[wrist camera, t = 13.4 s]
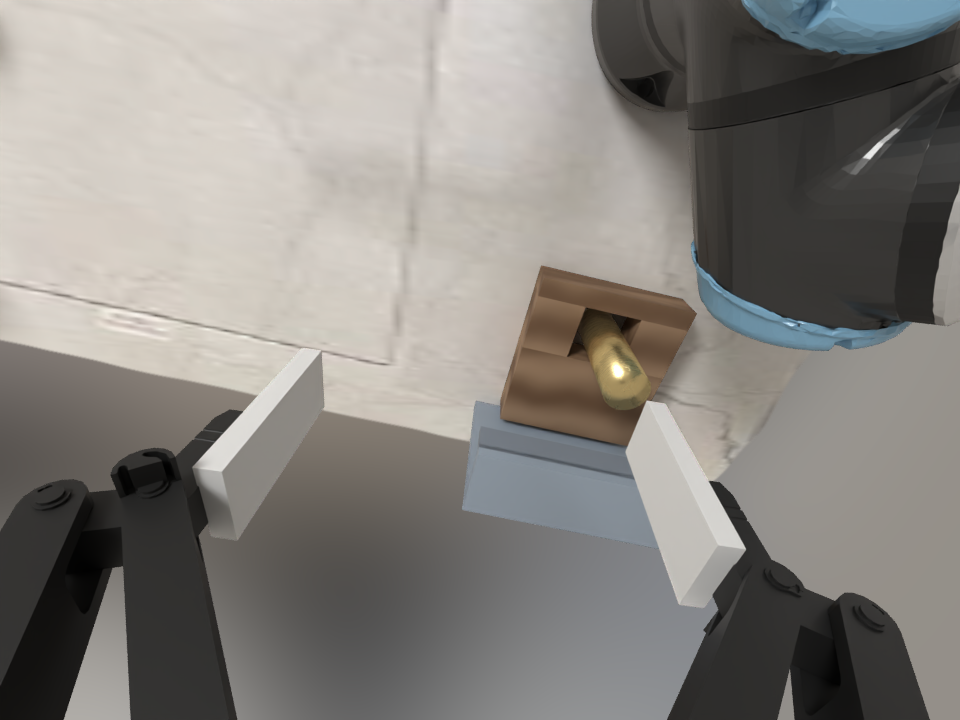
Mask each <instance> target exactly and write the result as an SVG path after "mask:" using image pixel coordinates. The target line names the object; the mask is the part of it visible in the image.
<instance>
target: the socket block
mask: <svg viewBox="0 0 960 720" xmlns="http://www.w3.org/2000/svg"><path fill="white" fill-rule="evenodd" d="M586 307H587V308H591V309H596V310H600V311H604V312H608V313H613V314H617V315H621V316H626V317H627V318H626V320H625V322H624V325H623V327H622V329H621V332H622V334H623V336H624V338H625V339H626V341H627V343H628V344H629V346H630V348H631V350H632V351H633V353H634V355H635V357H636V358H637V360H638V362H639V363H640V365H641V367H642V369H643V370H644V372H645V374H646V376H647V377H648V379H649V381H650V383H651V392H650V395H649V397H648V398H647V400H646V401H651V400H652V399H653V397H654V395H655V393H656V391H657V389H658V387H659V385H660V383H661V381H662V379H663V378H664V376H665V374H666V372H667V370H668V368H669V366H670V364H671V362H672V360H673V358H674V357H675V355H676V353H677V351H678V349H679V347H680V345H681V343H682V341H683V339H684V337H685V336H686V334H687V332H688V330H689V328H690V326H691V324H692V322H693V320H694V318H695V316H696V315H697V313H696V312H695V311H694V310H693V309H692V308H691V307H690V306H689V305H688V304H687V303H686V302H685V301H684V300H683V299H680V298H675V297H671V296H667V295H663V294H659V293H654V292H650V291H646V290H642V289H638V288H633V287H629V286H625V285H621V284H617V283H612V282H608V281H604V280H600V279H596V278H591V277H587V276H583V275H579V274H575V273H570V272H566V271H562V270H558V269H554V268H549V267H545V266H541V268H540V271H539V274H538V278H537V281H536V284H535V287H534V291H533V294H532V297H531V301H530V304H529V307H528V311H527V314H526V317H525V321H524V324H523V327H522V330H521V334H520V337H519V340H518V344H517V347H516V350H515V354H514V357H513V360H512V364H511V367H510V370H509V373H508V377H507V380H506V383H505V387H504V390H503V393H502V397H501V401H500V419H503V420H508V421H512V422H517V423H522V424H526V425H531V426H536V427H540V428H545V429H550V430H554V431H559V432H564V433H568V434H573V435H578V436H582V437H587V438H592V439H596V440H601V441H606V442H610V443H615V444H620V445H624V446H628V444H629V442H630V440H631V437H632V435H633V432H634V430H635V428H636V425H637V423H638V420H639V418H640V416H641V413H642V411H643V408H644V406H645V404H646V401H645V402H644V403H643V404H641V405H640V406H638V407H636V408H633V409H630V410H618V409H615V408H612V407H610V406H609V405H608V404H607V403H606V402H605V400H604V398H603V395H602V393H601V390H600V387H599V384H598V382H597V379H596V376H595V374H594V371H593V368H592V366H591V363H590V360H589V358H588V355H587V352H586V350H585V347H584V345H580V344H575V343H572V342H573V340H574V337H575V334H576V332H577V329H578V326H579V324H580V321H581V318H582V316H583V313H584V310H585V308H586Z"/></svg>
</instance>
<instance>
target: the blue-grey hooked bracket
mask: <svg viewBox="0 0 960 720" xmlns="http://www.w3.org/2000/svg"><path fill="white" fill-rule="evenodd" d="M627 447H628V446H624V445H620V444H615V443H610V442H606V441H601V440H596V439H592V438H587V437H582V436H578V435H573V434H568V433H564V432H559V431H554V430H550V429H545V428H540V427H536V426H531V425H526V424H522V423H517V422H512V421H508V420H503V419H500V406H497V405H492V404H488V403H483V402H478V401H476V403H475V407H474V413H473V422H472V430H471V439H470V447H469V456H468V465H467V474H466V482H465V490H464V499H463V507H462V510H466V511H471V512H476V513H481V514H486V515H491V516H496V517H501V518H506V519H511V520H516V521H521V522H526V523H531V524H536V525H541V526H546V527H551V528H556V529H561V530H566V531H571V532H576V533H581V534H585V535H591V536H596V537H600V538H605V539H611V540H615V541H621V542H625V543H631V544H635V545H641V546H645V547H650V548H656V549H659V547H658V544H657V541H656V538H655V535H654V532H653V530H652V527H651V524H650V521H649V518H648V515H647V513H646V510H645V507H644V504H643V501H642V498H641V495H640V493H639V490H638V487H637V484H636V481H635V478H634V475H633V473H632V470H631V467H630V464H629V461H628V458H627V456H626V453H625V452H626V449H627Z"/></svg>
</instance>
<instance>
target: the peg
mask: <svg viewBox="0 0 960 720" xmlns="http://www.w3.org/2000/svg"><path fill="white" fill-rule="evenodd" d="M578 331H579V334H580V336H581V339H582V342H583V344H584V347H585V350H586V352H587V355H588V358H589V360H590V363H591V366H592V368H593V371H594V374H595V376H596V379H597V382H598V384H599V387H600V390H601V393H602V395H603V398H604V400H605V402H606V403H607V404H608V405H609V406H610V407H612V408H615V409H618V410H630V409H633V408H636V407H638V406H640V405H641V404H643V403H644V402H645V401H646V400H647V398H648V397H649V395H650V392H651V383H650V381H649V379H648V377H647V376H646V374H645V372H644V370H643V369H642V367H641V365H640V363H639V362H638V360H637V358H636V357H635V355H634V353H633V351H632V350H631V348H630V346H629V344H628V343H627V341H626V339H625V338H624V336H623V334H622V332H621V331H620V329H619V327H618V326H617V324H616V322H615V320H614V319H613V317H612V315H611V314H610V313H608V312H604V311H600V310H596V309H591V308H590V309H587V310H586V311H584V313H583V316H582V318H581V321H580V324H579V326H578Z"/></svg>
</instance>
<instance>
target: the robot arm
mask: <svg viewBox="0 0 960 720" xmlns="http://www.w3.org/2000/svg"><path fill="white" fill-rule="evenodd" d="M592 34H593V41H594V46H595V50H596V54H597V57H598V60H599V63H600V65H601V67H602V70H603V72H604V73H605V75H606V77H607V78H608V80H609V81H610V83H611V84H612V85H613V87H614V88H615V89H616V90H617V91H618V92H619V93H620V94H621V95H622V96H623V97H625V98H626V99H627V100H629V101H631V102H632V103H634V104H636V105H638V106H640V107H643V108H646V109H649V110H654V111H662V112H672V111H684V110H688V124H689V126H688V141H689V160H690V178H691V197H692V215H693V234H694V240H693V242H692V244H691V254H692V259H693V262H694V264H695V267H696V271H697V280H698V289H699V294H700V297H701V300H702V302H703V303H704V304H705V306H706V308H707V310H708V311H709V312H710V313H711V315H712V316H713V317H714V318H715V319H717V320H718V321H719V322H720V323H722V324H723V325H725V326H726V327H728V328H729V329H731V330H733V331H735V332H737V333H739V334H741V335H744V336H746V337H749V338H752V339H755V340H758V341H761V342H764V343H768V344H772V345H776V346H781V347H787V348H793V349H802V350H815V351H819V350H820V351H829V350H830V349H831V348H832V347H833V346H834V345H840V346H842V347H845V348H847V349H858V348H864V347H869V346H873V345H876V344H880V343H883V342H885V341H887V340H889V339H891V338H894V337H896V336H897V335H898V334H900V333H901V332H902V331H903V330H904V329H905V328H906V327H907V326H909V325H910V324H911V323H912V322H917V323H925V324H934V325H942V326H950V325H952V324H954V323H956V322H959V321H960V0H593V3H592ZM323 408H324V389H323V371H322V352H321V351H320V350H314V349H307V348H301V350H300V351H299V352H298V353H297V354H296V355H295V356H294V357H293V358H292V359H291V360H290V362H289V363H288V364H287V365H286V366H285V367H284V368H283V369H282V370H281V371H280V372H279V373H278V375H277V376H276V377H275V378H274V379H273V380H272V381H271V382H270V383H269V384H268V385H267V387H266V388H265V389H264V390H263V391H262V392H261V393H260V394H259V395H258V396H257V397H256V398H255V400H254V401H253V402H252V403H251V404H250V405H249V406H248V407H247V408H246V409H245V411H244V412H243V411H237V410H228V411H226V412H225V413H223V414H221V415H219V416H217V417H215V418H214V419H213V420H212V421H211V422H210V423H209V424H208V425H207V426H206V427H205V428H204V430H203V431H201V432H200V433H199V434H198V435H197V436H196V437H195V439H194V440H192V441H191V442H190V443H189V444H188V445H187V446H186V447H185V448H184V449H183V450H182V451H181V452H180V453H179V454H178V455H177V456H176V457H175V456H174V454H173V453H172V452H171V451H169V450H166V449H161V448H151V449H145V450H141V451H138V452H135V453H133V454H130V455H128V456H127V457H125V458H123V459H122V460H120V461H119V462H118V463H117V464H116V465H115V466H114V467H113V469H112V472H111V478H112V480H113V482H114V485H115V487H116V490H110V491H99V492H89V491H88V488H87V486H86V485H85V484H84V483H83V482H81V481H78V480H74V479H73V480H60V481H56V482H52V483H48V484H46V485H43V486H41V487H39V488H37V489H34V490H33V491H31V492H30V493H28V494H27V495H25V496H24V497H23V498H22V499H21V500H20V501H19V502H18V503H17V505H16V506H15V508H14V509H13V511H12V513H11V515H10V516H9V518H8V519H7V521H6V523H5V524H4V526H3V528H2V529H1V531H0V720H64V717H65V713H66V711H67V707H68V704H69V701H70V698H71V695H72V692H73V689H74V686H75V682H76V679H77V677H78V673H79V670H80V667H81V664H82V661H83V658H84V655H85V652H86V649H87V646H88V642H89V639H90V636H91V633H92V630H93V627H94V624H95V621H96V617H97V614H98V611H99V608H100V605H101V602H102V599H103V596H104V592H105V590H106V587H107V584H108V580H109V577H110V574H111V571H112V568H114V567H121V566H123V569H124V591H125V609H126V610H125V612H126V632H127V653H128V673H129V694H130V713H131V720H237V716H236V711H235V706H234V701H233V697H232V692H231V687H230V682H229V677H228V673H227V668H226V663H225V658H224V654H223V649H222V645H221V640H220V634H219V630H218V625H217V620H216V615H215V610H214V606H213V601H212V596H211V591H210V587H209V582H208V577H207V573H206V568H205V563H204V558H203V553H202V549H201V543H200V540H199V536H198V535H199V534H200V533H201V531H202V530H203V529H204V527H205V526H206V525H207V524H208V527H209V531H210V535H211V537H217V538H224V539H231V540H238V538H239V537H240V535H241V534H242V532H243V531H244V529H245V528H246V526H247V524H248V523H249V522H250V520H251V518H252V517H253V515H254V514H255V512H256V511H257V509H258V508H259V506H260V505H261V503H262V502H263V500H264V498H265V497H266V495H267V494H268V492H269V491H270V489H271V488H272V486H273V485H274V483H275V482H276V480H277V478H278V477H279V476H280V474H281V472H282V471H283V469H284V468H285V466H286V465H287V463H288V462H289V460H290V459H291V457H292V455H293V454H294V452H295V451H296V449H297V448H298V446H299V445H300V443H301V442H302V440H303V439H304V437H305V436H306V434H307V432H308V431H309V429H310V428H311V426H312V425H313V423H314V422H315V420H316V418H317V417H318V416H319V414H320V412H321V411H322V409H323ZM625 453H626V456H627V458H628V461H629V464H630V467H631V470H632V473H633V475H634V478H635V481H636V484H637V487H638V490H639V493H640V495H641V498H642V501H643V504H644V507H645V510H646V513H647V515H648V518H649V521H650V524H651V527H652V530H653V532H654V535H655V538H656V541H657V544H658V547H659V550H660V552H661V555H662V558H663V561H664V564H665V567H666V569H667V572H668V575H669V578H670V581H671V583H672V587H673V589H674V592H675V595H676V598H677V601H678V604H679V605H684V606H691V607H698V608H705V606H706V605H707V604H708V602H709V601H710V600H711V598H712V597H713V598H714V600H715V602H716V604H717V607H718V609H719V610H718V611H717V612H716V614H715V615H714V616H713V618H712V619H711V620H710V622H709V623H708V624H707V626H706V627H705V629H704V631H705V632H706V635H705V637H704V639H703V641H702V643H701V646H700V648H699V650H698V652H697V655H696V657H695V659H694V661H693V663H692V665H691V668H690V670H689V672H688V675H687V677H686V679H685V681H684V683H683V685H682V688H681V690H680V692H679V694H678V697H677V699H676V701H675V703H674V705H673V708H672V710H671V712H670V714H669V716H668V719H667V720H777V718H778V714H779V710H780V706H781V702H782V698H783V694H784V690H785V686H786V682H787V678H788V673H789V669H790V672H791V684H792V695H793V706H794V718H795V720H930V719H929V716H928V713H927V710H926V707H925V704H924V701H923V697H922V695H921V691H920V688H919V686H918V682H917V679H916V676H915V673H914V670H913V668H912V664H911V661H910V658H909V655H908V652H907V649H906V646H905V643H904V640H903V637H902V634H901V632H900V630H899V628H898V626H897V624H896V623H895V621H893V619H892V618H891V617H890V616H889V615H888V613H887V612H885V611H884V610H883V609H882V608H880V607H879V606H878V605H877V604H875V603H874V602H872V601H871V600H869V599H867V598H865V597H863V596H861V595H857V594H855V593H844V594H842V595H841V596H840V597H839V598H838V599H837V600H836V601H834V600H831V599H829V598H827V597H824V596H822V595H819V594H817V593H814V592H812V591H810V590H807V589H805V588H804V586H803V584H802V582H801V581H800V580H799V579H798V578H797V576H795V574H794V573H793V572H791V571H790V570H789V569H787V568H786V567H785V566H783V565H781V564H779V563H777V562H775V561H773V560H771V558H770V556H769V555H768V553H767V551H766V550H765V548H764V546H763V545H762V543H761V542H760V540H759V538H758V536H757V535H756V533H755V531H754V530H753V528H752V526H751V525H750V523H749V522H748V521H747V518H746V516H745V515H744V513H743V511H741V510H740V507H739V505H738V503H737V501H736V500H735V498H734V496H733V495H732V494H731V493H730V492H729V491H728V490H727V489H726V488H725V487H724V486H723V485H722V484H721V483H720V482H714V481H708V479H707V478H706V476H705V474H704V472H703V470H702V469H701V467H700V465H699V463H698V461H697V460H696V458H695V456H694V454H693V452H692V451H691V449H690V447H689V445H688V443H687V442H686V440H685V438H684V436H683V434H682V433H681V431H680V429H679V427H678V425H677V423H676V422H675V420H674V418H673V416H672V414H671V413H670V411H669V409H668V407H667V405H666V404H665V403H659V402H652V401H646V404H645V406H644V408H643V411H642V413H641V416H640V418H639V420H638V423H637V425H636V428H635V430H634V432H633V435H632V437H631V440H630V442H629V444H628V447H627V449H626V452H625Z"/></svg>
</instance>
